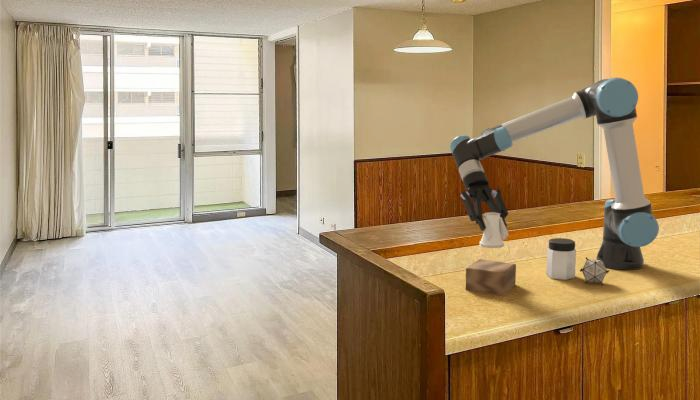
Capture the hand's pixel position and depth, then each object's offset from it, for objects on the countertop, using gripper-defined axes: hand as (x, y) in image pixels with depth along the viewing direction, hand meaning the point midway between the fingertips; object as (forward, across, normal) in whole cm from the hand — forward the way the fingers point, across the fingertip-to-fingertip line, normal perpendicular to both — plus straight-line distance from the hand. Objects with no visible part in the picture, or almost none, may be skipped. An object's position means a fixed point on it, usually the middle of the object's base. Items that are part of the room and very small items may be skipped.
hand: (497, 237), depth 180 cm
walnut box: (+10, 0, -14) cm, 17 cm away
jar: (+7, -27, -17) cm, 33 cm away
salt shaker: (0, 0, -5) cm, 5 cm away
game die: (+14, -33, -10) cm, 37 cm away
